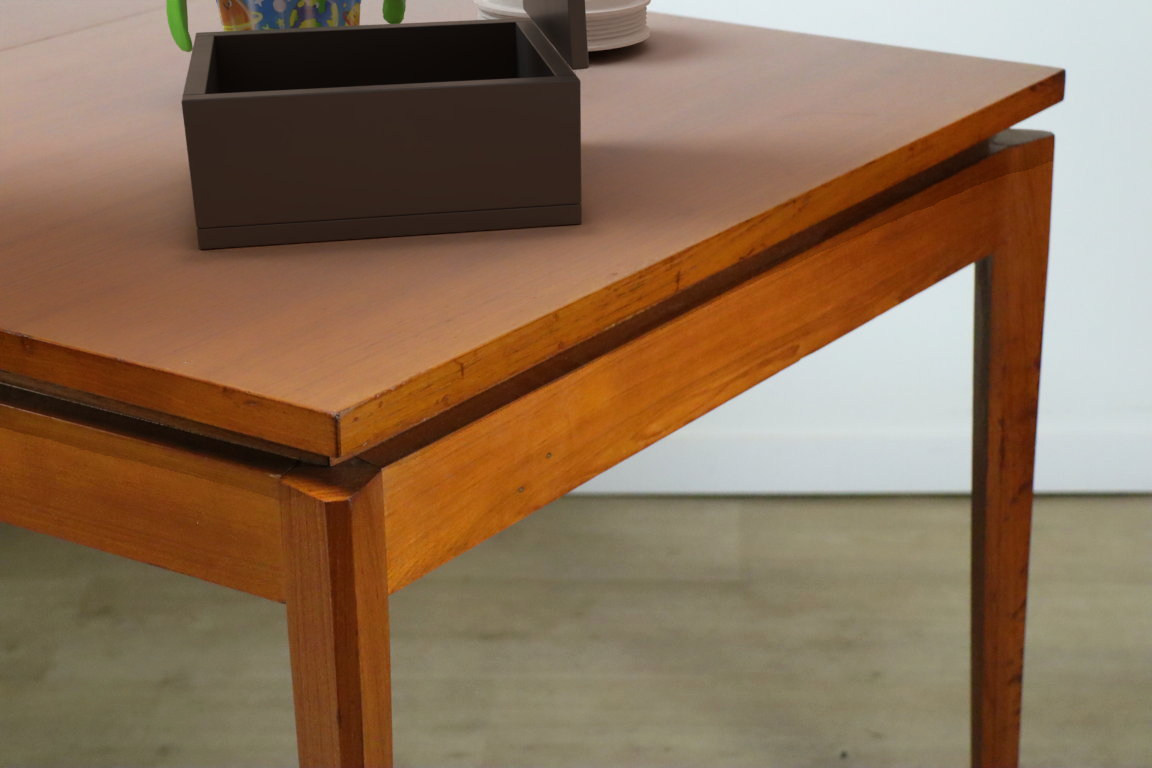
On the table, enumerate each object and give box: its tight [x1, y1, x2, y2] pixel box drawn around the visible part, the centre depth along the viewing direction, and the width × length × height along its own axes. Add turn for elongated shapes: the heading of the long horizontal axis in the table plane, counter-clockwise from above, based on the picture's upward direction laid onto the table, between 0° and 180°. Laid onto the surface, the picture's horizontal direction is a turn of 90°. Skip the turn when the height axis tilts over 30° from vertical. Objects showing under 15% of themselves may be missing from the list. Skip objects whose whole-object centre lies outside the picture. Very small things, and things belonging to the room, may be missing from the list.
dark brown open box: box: [181, 18, 583, 250], centre depth 77 cm, size 18×15×7 cm
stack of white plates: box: [472, 0, 652, 52], centre depth 108 cm, size 13×13×5 cm
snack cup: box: [166, 0, 407, 53], centre depth 96 cm, size 16×10×10 cm
